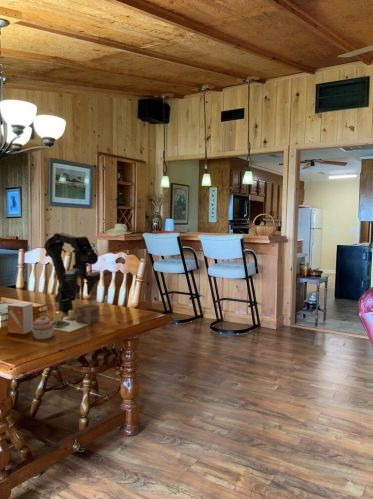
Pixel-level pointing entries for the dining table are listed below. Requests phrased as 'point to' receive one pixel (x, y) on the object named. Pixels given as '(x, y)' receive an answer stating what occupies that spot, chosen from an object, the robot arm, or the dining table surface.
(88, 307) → the housing
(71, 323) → the board
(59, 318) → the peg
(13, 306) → the small box
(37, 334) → the cupcake
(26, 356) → the dining table surface
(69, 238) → the robot arm
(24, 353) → the dining table surface
